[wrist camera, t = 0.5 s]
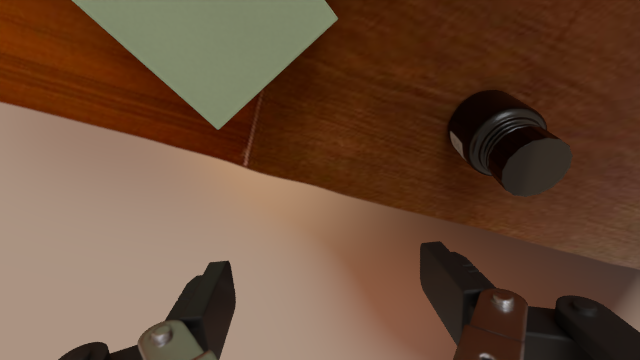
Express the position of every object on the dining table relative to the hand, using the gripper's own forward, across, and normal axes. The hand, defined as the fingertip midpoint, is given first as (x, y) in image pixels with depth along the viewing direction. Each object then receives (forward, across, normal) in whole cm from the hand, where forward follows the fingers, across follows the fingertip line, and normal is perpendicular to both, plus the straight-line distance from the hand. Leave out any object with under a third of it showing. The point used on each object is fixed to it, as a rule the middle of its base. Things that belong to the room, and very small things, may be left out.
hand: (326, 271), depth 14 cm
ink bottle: (+30, -23, -2) cm, 38 cm away
